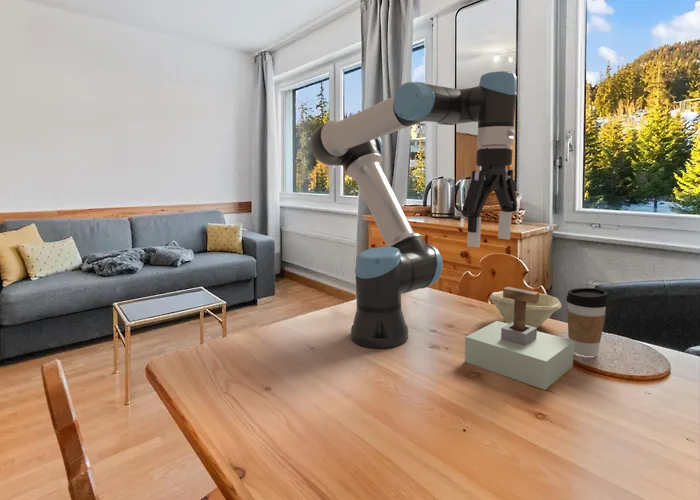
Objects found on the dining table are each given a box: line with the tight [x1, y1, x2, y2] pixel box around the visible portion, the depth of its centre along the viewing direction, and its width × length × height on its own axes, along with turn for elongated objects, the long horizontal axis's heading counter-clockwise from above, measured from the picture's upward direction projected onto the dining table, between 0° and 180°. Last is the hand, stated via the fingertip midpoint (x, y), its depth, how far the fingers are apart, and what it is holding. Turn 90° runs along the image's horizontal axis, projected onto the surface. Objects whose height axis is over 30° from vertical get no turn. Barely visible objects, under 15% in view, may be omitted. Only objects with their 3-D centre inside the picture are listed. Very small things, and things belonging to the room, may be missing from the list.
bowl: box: [489, 290, 562, 329], centre depth 115 cm, size 14×18×15 cm
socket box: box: [464, 320, 575, 391], centre depth 92 cm, size 18×14×8 cm
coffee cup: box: [565, 287, 610, 356], centre depth 96 cm, size 8×8×15 cm
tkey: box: [502, 286, 540, 332], centre depth 91 cm, size 7×2×11 cm, turn 42°
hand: (489, 242), depth 96 cm, fingers open, 13 cm apart
